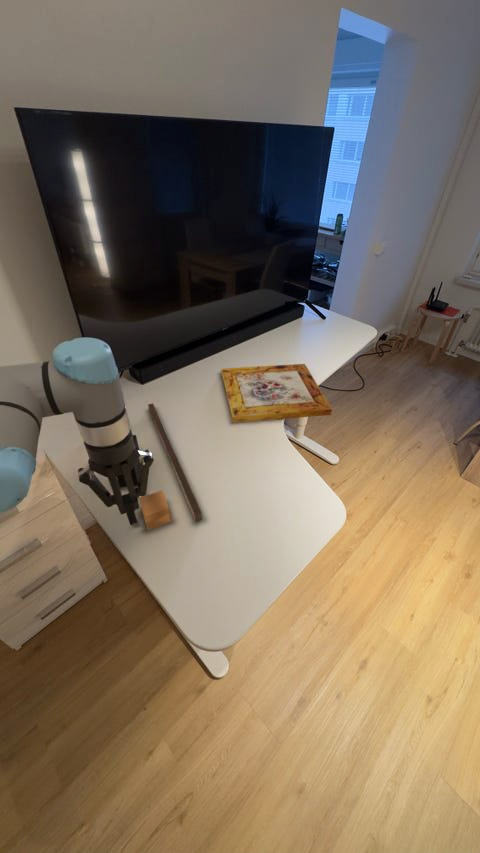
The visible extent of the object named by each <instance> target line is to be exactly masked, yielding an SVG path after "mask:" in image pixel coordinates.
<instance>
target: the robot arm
mask: <svg viewBox="0 0 480 853" xmlns="http://www.w3.org/2000/svg"><path fill="white" fill-rule="evenodd" d="M121 383H122V382H121V379H120V373H119V370H118V367H117V364H116V361H115V357H114V354H113V351H112V349H111V346H110V345H109V344H108V343H107V342H105V341H104V340H101V339H99V338H94V337H86V336H85V337H75V338H73V339H72V340H66V341H63V342H61V343H59V344H57V345H56V346H55V348H54V349H53V351H52V359H50V360H48V361H40V362H29V363H20V364H11V365H1V366H0V514H1V513H4V512H8V511H9V510H12V509H14V508H15V507H17V506H18V505H19V504H20V503H22V502H23V501H24V500H25V498H26V497H27V496H28V493H29V491H30V487H31V482H32V479H33V475H34V474H35V473H36V469H37V468H36V466H37V453H38V447H39V446H38V445H39V439H40V435H41V431H42V430H41V429H42V425H43V424H42V423H43V418H48V417H53V416H59V415H64V414H68V413H69V414H70V413H72V415H73V416H74V419H75V420H74V421H75V423H76V426H77V428H78V431H79V434H80V436H81V440H82V442H83V445H84V447H85V451H86V453H87V456H88V461H87V463H88V465H86V466H85V467H79V468H78V469H77V476H78V481H79V482H80V483H82V484H84V485H85V486H88V487H89V488H90V489H91V491H92V492H93V494H94V495H96V496H97V497H98V498H99V500H100V501H101V502H102V503H103V504H104V506H106V507H107V508H112V507H113V506H116V507H117V509H118V511H119V514H120V515H125V514H126V517H127V520H128V523H129V526H132V525H136V524H138V520H137V514H136V510H139V509H140V502H139V498H140V497H143V496H146V495H147V491H148V482H149V475H150V468H151V466H152V464H153V463H154V461H155V459H154V457H153V453H152V450H151V449H145V450H144V451H143V450H140V448H139V449H138V448H137V447H136V446H135V444H134V439H133V435H134V434H133V431H132V428H131V423H130V419H129V414H128V410H127V405H126V402H125V398H124V392H123V388H122V384H121ZM138 459H139V461H140V464H139V474H138V483H137V485H136V487H135V486H134V484H133V481H132V477H131V473H130V471H131V470H132V468H133V467H134V465H135V464H136V462H137V460H138ZM95 473H96V474H98V475H100V476H103V477H105V478H107V479H108V483H109V485H110V489H111V491H112V494H111V492H110V491H109V490H108V488H106V487H105V485H104V484H103V483H102V481H100V479H99V477H97V476H96V474H95ZM119 475H124V478H125V482H126V485H127V486H126V489H127V491H128V492H127V493H124V494H122V491H121V487H120V486H119V483H118V480H117V476H119Z"/></svg>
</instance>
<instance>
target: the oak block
mask: <svg viewBox="0 0 480 853" xmlns="http://www.w3.org/2000/svg"><path fill="white" fill-rule="evenodd" d="M138 502H139V506H140V508H141V513H142V516H143V520H144V522H145V525H146V526H145V527H146V530H147V531H150V530H153V529H157V528H159V527H162V526H165V525H167V524H170V523H172V520H171V514H170V508H169V505H168V501H167V499H166V496H165V493H164V490H159V491H156V492H153V493H150V494H146V495H145V496H142V497H141V496H140V497H138Z"/></svg>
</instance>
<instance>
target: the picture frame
mask: <svg viewBox="0 0 480 853" xmlns="http://www.w3.org/2000/svg"><path fill="white" fill-rule="evenodd" d="M220 375H221V379H222V384H223V388H224V393H225V397H226V400H227V405H228V409H229V414H230V418H231V423H232V424H234V423H235V424H236V423H237V424H238V423H248V422H261V421H263V422H264V421H274V420H275V421H276V420H285V419H298V418H310V417H313V418H314V417H323V416H331V415H332V411H333V408H332V407H331V405H330V403H329V402H328V400H327V398H326V397H325V395H324V393H323V392H322V390H321V389H320V387H319V385H318V383H317V382H316V380H315V379H314V377H313V375H312V374H311V372H310V370H309V369H308V367H307V364H305V363H294V364H276V365H261V366H259V365H257V366H244V367H243V366H242V367H224V368H221V369H220Z"/></svg>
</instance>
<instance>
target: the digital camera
mask: <svg viewBox="0 0 480 853" xmlns="http://www.w3.org/2000/svg"><path fill="white" fill-rule="evenodd" d="M132 435H133V439H134V444H135V446H136V447H137V448H138V449H139V450H140V446H139V442H138V436H137V435H136V434H132ZM139 464H140V461H139V459H138V460H137V462H136V464H135V465H134V467H133V468H132V470H131V471H130V473H131V477H132V481H133V484H134V487H135V486H137V483H138V474H139ZM116 478H117V481H118V484H119V488H125V487H126V488H127V485H126V482H125V478H124V475H119V476H117V477H116Z"/></svg>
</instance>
